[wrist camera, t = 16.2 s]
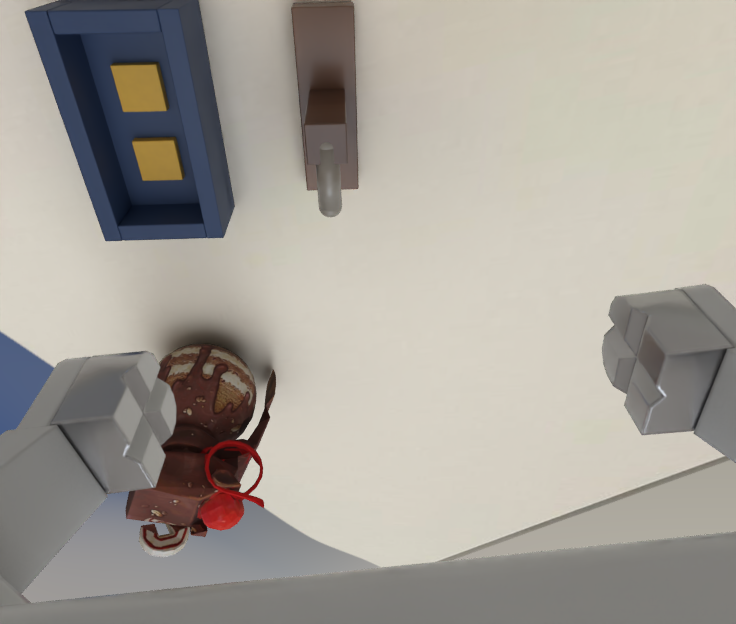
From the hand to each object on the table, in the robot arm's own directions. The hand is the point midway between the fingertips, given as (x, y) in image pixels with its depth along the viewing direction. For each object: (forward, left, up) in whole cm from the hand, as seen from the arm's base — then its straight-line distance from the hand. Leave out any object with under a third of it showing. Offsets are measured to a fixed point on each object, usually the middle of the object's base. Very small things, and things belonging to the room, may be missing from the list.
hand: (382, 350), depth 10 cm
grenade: (+23, -12, -26) cm, 36 cm away
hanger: (+3, -2, -25) cm, 25 cm away
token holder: (+3, -12, -25) cm, 28 cm away
